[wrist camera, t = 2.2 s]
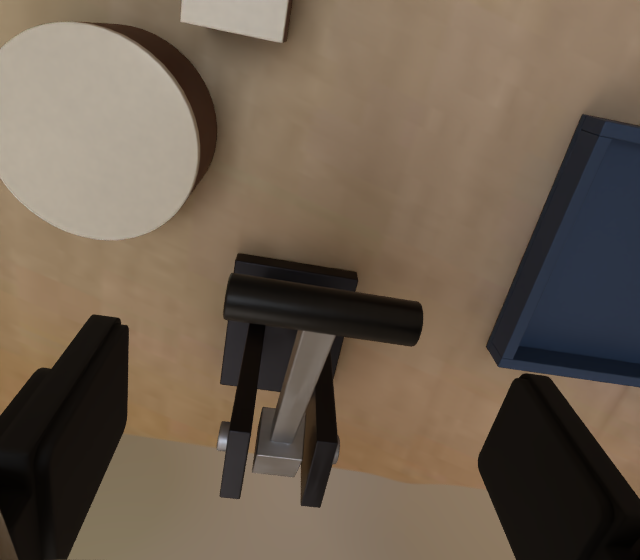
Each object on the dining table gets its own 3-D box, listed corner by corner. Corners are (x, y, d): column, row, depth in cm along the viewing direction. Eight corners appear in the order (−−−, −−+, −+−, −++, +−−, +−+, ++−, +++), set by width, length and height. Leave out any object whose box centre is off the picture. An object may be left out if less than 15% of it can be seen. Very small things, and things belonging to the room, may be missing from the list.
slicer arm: (234, 250, 15) (220, 315, 13) (421, 280, 16) (427, 345, 14) (222, 422, 26) (214, 468, 24) (332, 436, 27) (330, 481, 25)
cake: (31, 5, 25) (-38, -2, 20) (225, 45, 26) (206, 48, 21) (43, 191, 29) (-11, 223, 24) (209, 218, 30) (190, 255, 25)
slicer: (237, 252, 32) (199, 376, 20) (356, 271, 32) (385, 400, 21) (222, 374, 36) (184, 532, 25) (327, 388, 37) (338, 546, 25)
